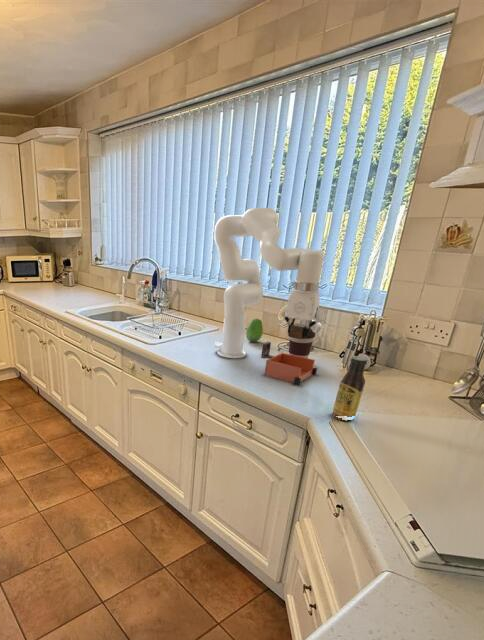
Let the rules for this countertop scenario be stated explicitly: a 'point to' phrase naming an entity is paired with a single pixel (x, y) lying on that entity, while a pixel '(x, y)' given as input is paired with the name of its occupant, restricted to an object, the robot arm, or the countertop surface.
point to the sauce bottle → (350, 389)
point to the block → (297, 331)
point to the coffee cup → (301, 345)
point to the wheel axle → (298, 380)
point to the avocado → (254, 330)
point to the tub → (286, 365)
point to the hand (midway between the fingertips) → (297, 336)
